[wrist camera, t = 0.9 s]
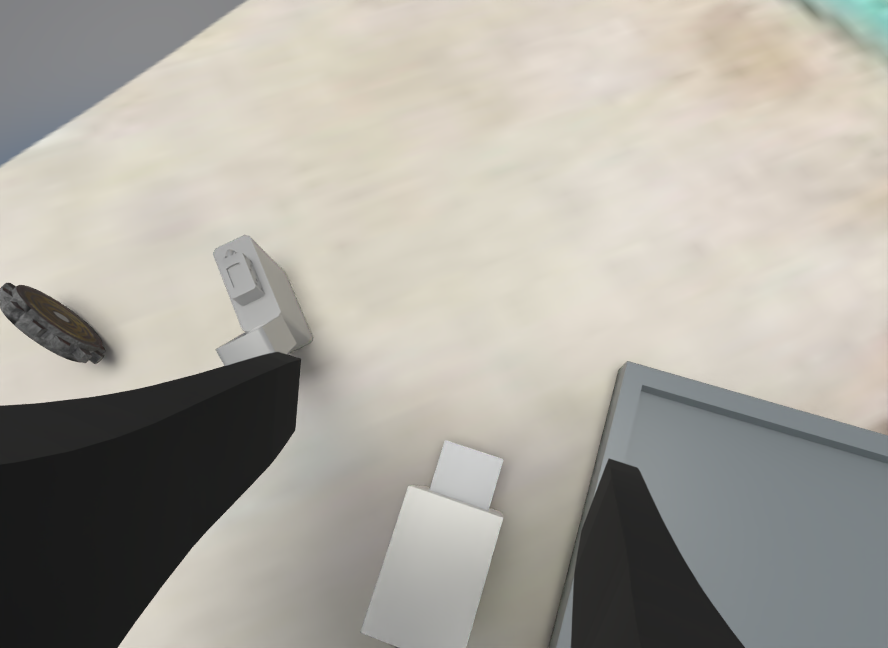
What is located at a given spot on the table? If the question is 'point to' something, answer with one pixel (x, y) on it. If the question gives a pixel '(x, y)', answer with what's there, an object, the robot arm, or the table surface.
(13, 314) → the gear
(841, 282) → the table surface
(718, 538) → the tray
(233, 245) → the lighter
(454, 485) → the plug
